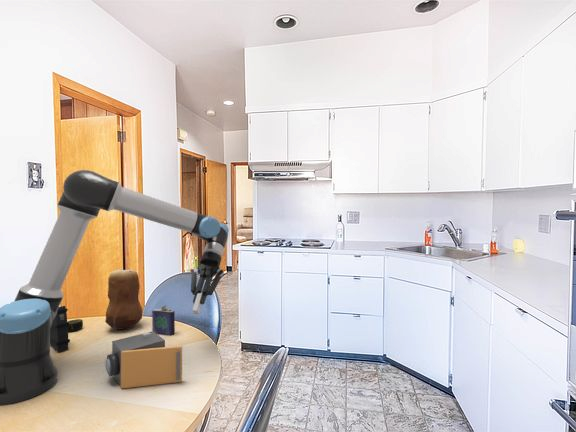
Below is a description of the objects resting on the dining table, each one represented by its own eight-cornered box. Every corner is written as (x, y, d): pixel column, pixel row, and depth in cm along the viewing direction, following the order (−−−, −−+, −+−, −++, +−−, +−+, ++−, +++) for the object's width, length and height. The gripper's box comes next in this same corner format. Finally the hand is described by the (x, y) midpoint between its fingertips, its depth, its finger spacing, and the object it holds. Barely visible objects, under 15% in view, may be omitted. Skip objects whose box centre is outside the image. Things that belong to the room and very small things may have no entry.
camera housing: (111, 391, 84) (112, 351, 84) (102, 376, 92) (102, 340, 92) (164, 372, 94) (164, 337, 94) (152, 361, 102) (152, 328, 102)
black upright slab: (59, 351, 105) (54, 307, 109) (50, 357, 113) (45, 316, 117) (72, 347, 108) (67, 305, 112) (62, 353, 115) (57, 313, 120)
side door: (120, 390, 84) (120, 353, 84) (121, 386, 86) (122, 350, 86) (181, 383, 88) (181, 348, 88) (182, 379, 90) (182, 345, 90)
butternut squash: (131, 320, 140) (131, 265, 140) (148, 326, 133) (148, 268, 132) (99, 329, 129) (99, 270, 128) (115, 337, 121) (115, 273, 121)
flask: (150, 333, 125) (150, 305, 125) (155, 331, 128) (156, 303, 128) (172, 336, 123) (172, 307, 122) (176, 333, 126) (177, 305, 126)
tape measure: (73, 326, 132) (73, 318, 132) (86, 327, 131) (86, 319, 131) (58, 332, 126) (58, 323, 126) (73, 334, 124) (73, 324, 124)
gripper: (230, 262, 123) (216, 317, 107) (199, 261, 125) (180, 316, 108) (226, 250, 118) (211, 307, 102) (193, 250, 119) (173, 306, 103)
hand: (195, 312), depth 105 cm, fingers closed
